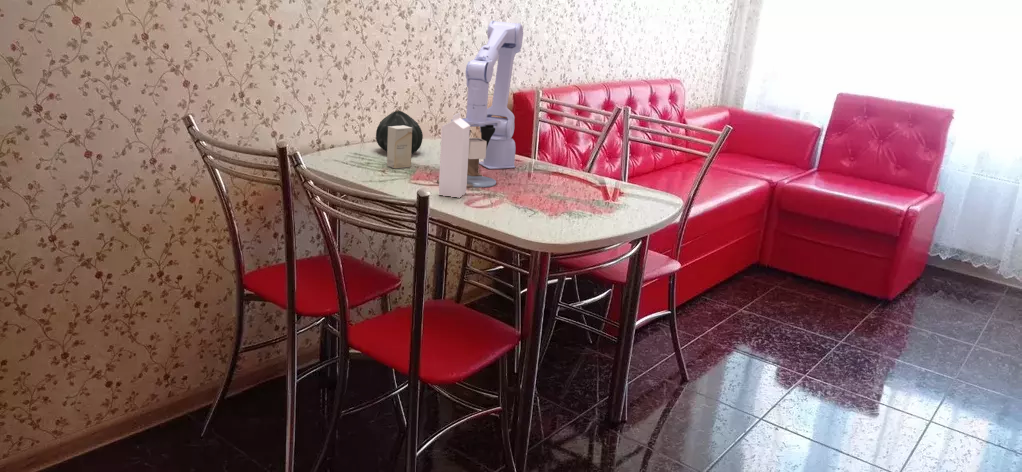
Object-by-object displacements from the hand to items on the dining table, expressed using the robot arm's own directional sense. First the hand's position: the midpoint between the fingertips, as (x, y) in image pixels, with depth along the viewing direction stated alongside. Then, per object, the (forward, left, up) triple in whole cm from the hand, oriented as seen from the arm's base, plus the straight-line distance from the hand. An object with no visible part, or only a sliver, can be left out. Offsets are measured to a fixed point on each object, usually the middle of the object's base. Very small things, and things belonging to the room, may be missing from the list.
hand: (474, 151), depth 213 cm
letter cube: (0, 0, -2) cm, 2 cm away
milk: (+11, +11, -9) cm, 18 cm away
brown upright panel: (-3, -10, -9) cm, 14 cm away
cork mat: (+6, +2, -9) cm, 11 cm away
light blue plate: (-1, +1, -9) cm, 9 cm away
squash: (+9, -38, -9) cm, 40 cm away
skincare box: (+15, -21, -9) cm, 27 cm away
